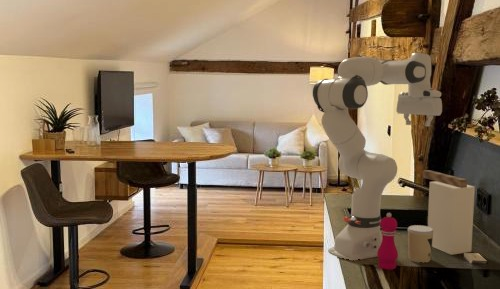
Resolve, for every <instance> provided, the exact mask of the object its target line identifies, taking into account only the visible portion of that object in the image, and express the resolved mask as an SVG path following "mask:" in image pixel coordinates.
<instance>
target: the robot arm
mask: <svg viewBox="0 0 500 289" xmlns="http://www.w3.org/2000/svg"><path fill="white" fill-rule="evenodd" d="M431 60H432V59H431V56H430V55H429V54H428V53H426V52H419V51H418V52H413V53H412V54H411V55H410V57H408V58H407V59H405V60H384V61H381V60H379V59H377V58H374V57H371V56H354V57H350V58H349V57H348V58H345V59H344V60H342V61H341V62H340V64H339V65H338V68H337V75H338V77H337V78H323V79H320V80H318V81H316V83H315V84H314V86H313V87H312V98H313V101H314V103H315V105H316V107H317V109H318V110H319V111H320V112H322V113H323V115H322V117H321V119H320V120H321V125H322V128H323V130H324V132H325V134H326V135H327V137H328V138H329V139H328V140H330V142H331V143H332V145H333V146H334V147H335V149H336V150H337V152H338V153H339V155H340V156H339V158H338V163H337V164H338V169H339V172H340V173H341V174H343V175H345V176H348V177H350V178H353V179H357V180H362V182H361V183H362V184H361V186H360V188H359V189H358V190H355V191H354V192H353V193H352V195H351V206H350V207H351V212H350V214H349V216H344V217H343V222H346V223H347V225H346V226H345V227H343V228H342V230H341V231H340V232H339V233H338V234H337V235H336V236H335V239H334V246H332V247H330V248H328V250H327V252H328V253H329V254H330V255H332V256H334V257H336V258H340V259H342V258H344V259H343V260H346V259H349V260H348V261H353V260H354V261H359V260H358V259H360V260H365V259H372V258H376V257H378V256H377V253H378V249H379V247H380V245H381V243H382V234H381V232H382V231H381V226H380V222H381V220H382V216H381V202H382V195H383V193H384V190H385V189H386V187H387V185H388V184H389V183H391V182H393V181H394V179H395V178H396V176H397V174H398V164H397V162H396V160H395V159H394V158H392V157H391V156H388V155H385V154H383V153H376V152H369V151H367V150H366V149H365V147H366V143H367V140H366V138H365V136H364V134H363V133H362V131H361V129H360V128H359V127H358V125H357V124H356V122H355V120H353V118H352V117H351V115H350V113H349V110H358V109H361V108H362V107H364V105H365V104H366V102H367V100H368V97H369V93H368V92H369V91H368V87H370V86H374V85H377V84H379V83H381V84H382V85H408V86H407V88H408V89H407V92H404V91H402V92H400V93H399V94H398V96H397V101H396V102H397V103H396V113H397V114H398V115H399V114H400V115H401V114H402V115H403V119H404V120H405V125H406V126H411V125H412V120H410V115H415V116H417V115H418V116H426V117H427V120H426V121H425V122H424V126H425V127H431V123H432V121H433V119H434V116H441V114H443V113H442V112H443V103H442V102H443V101H442V98H440V97H441V96H442V92H441V91H439V90H437V89H434V88H432V87H431V76H432V61H431Z"/></svg>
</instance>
